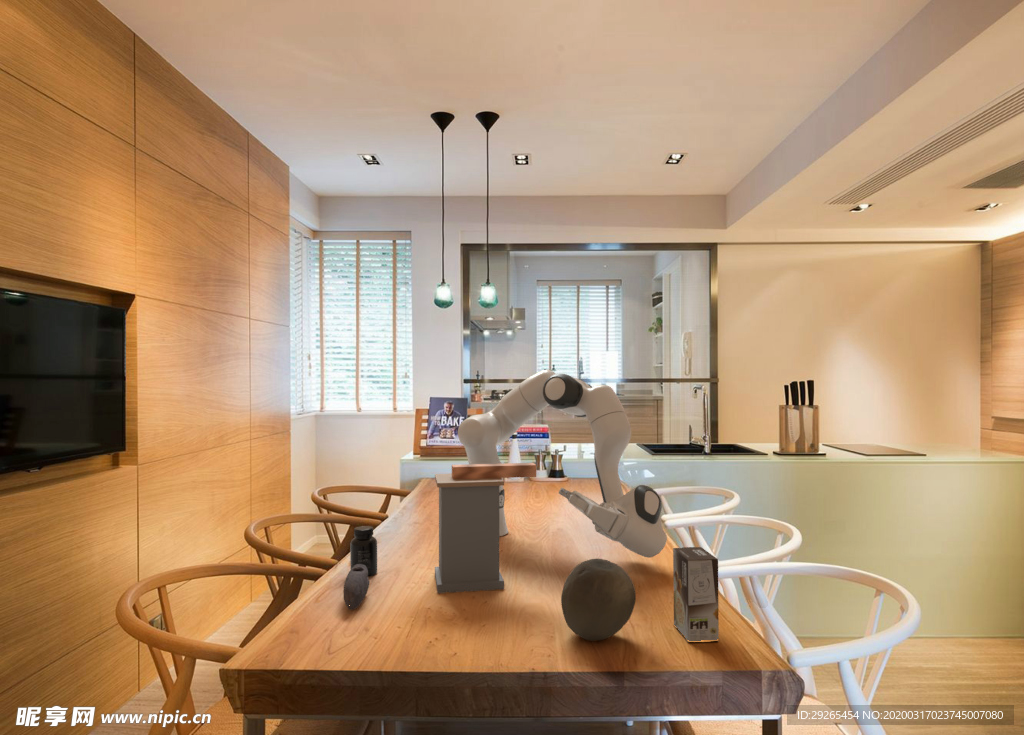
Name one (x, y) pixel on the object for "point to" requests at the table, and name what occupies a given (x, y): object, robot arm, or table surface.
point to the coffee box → (696, 593)
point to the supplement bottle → (364, 549)
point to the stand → (468, 534)
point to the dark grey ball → (597, 599)
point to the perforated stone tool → (356, 586)
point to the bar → (493, 470)
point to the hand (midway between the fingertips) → (564, 493)
